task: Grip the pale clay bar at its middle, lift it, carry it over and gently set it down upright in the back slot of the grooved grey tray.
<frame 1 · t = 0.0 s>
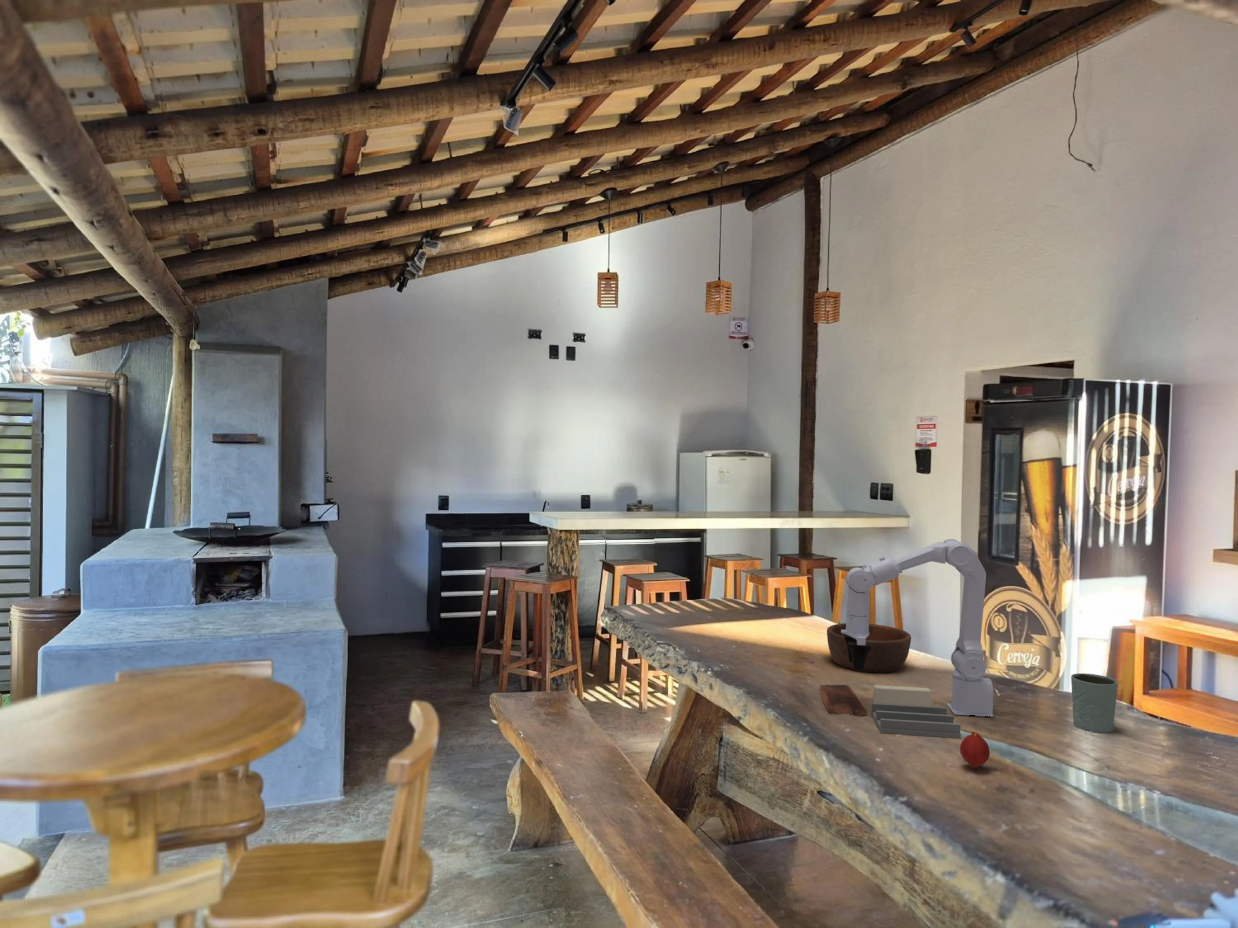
hand: (856, 666, 219), 10 cm above the table, tool pointing down, fingers open, 7 cm apart
grooved grey tray: (914, 725, 204), on the table
wooden tablet: (840, 702, 223), on the table
dark green cup: (1092, 727, 206), on the table
onion: (974, 768, 178), on the table
clay bar: (901, 706, 218), on the table
wooden bowl: (867, 665, 259), on the table
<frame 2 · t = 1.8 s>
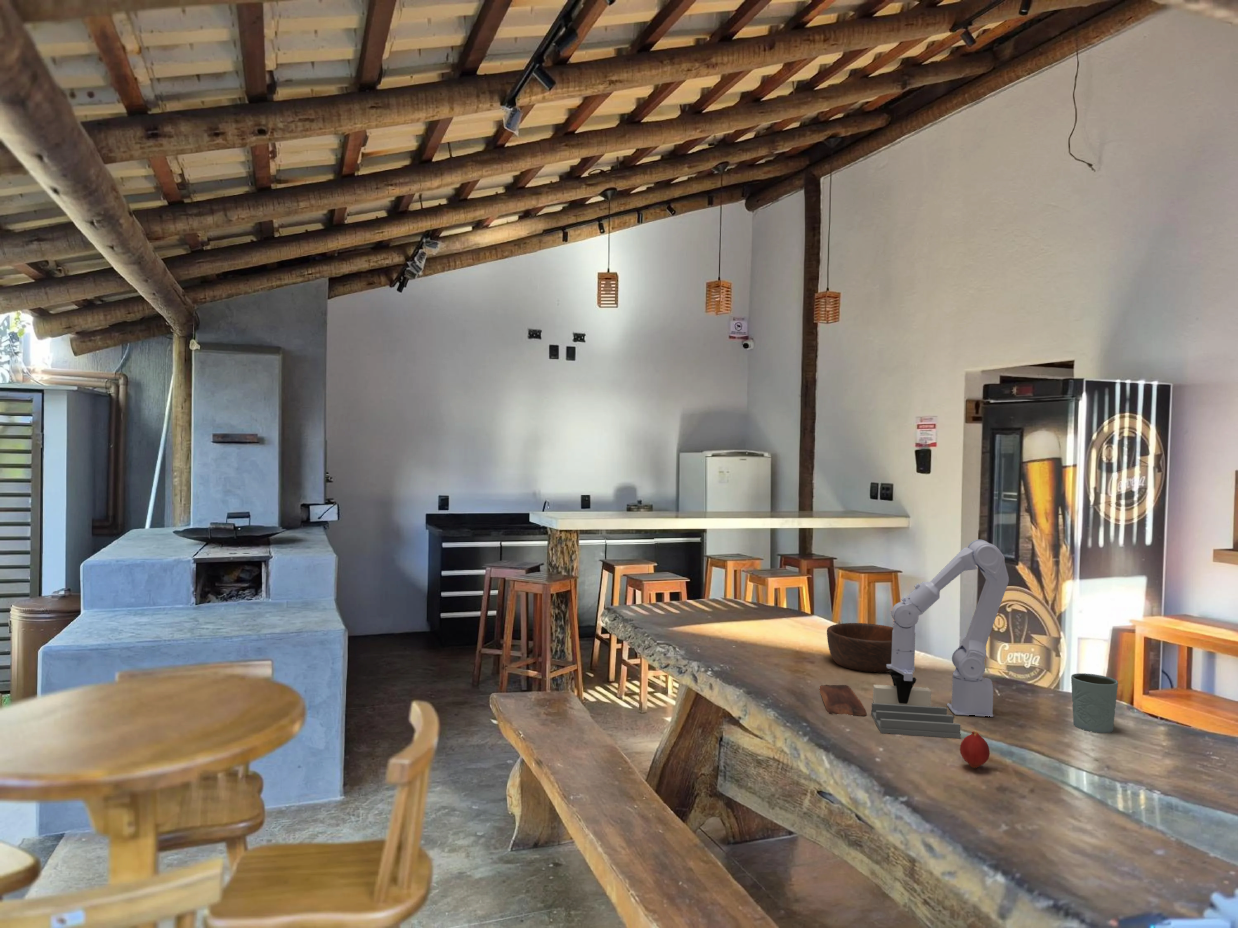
hand: (901, 700, 218), 1 cm above the table, tool pointing down, fingers closed on clay bar, 3 cm apart
clay bar: (901, 706, 218), on the table, touching gripper
everything else where it was.
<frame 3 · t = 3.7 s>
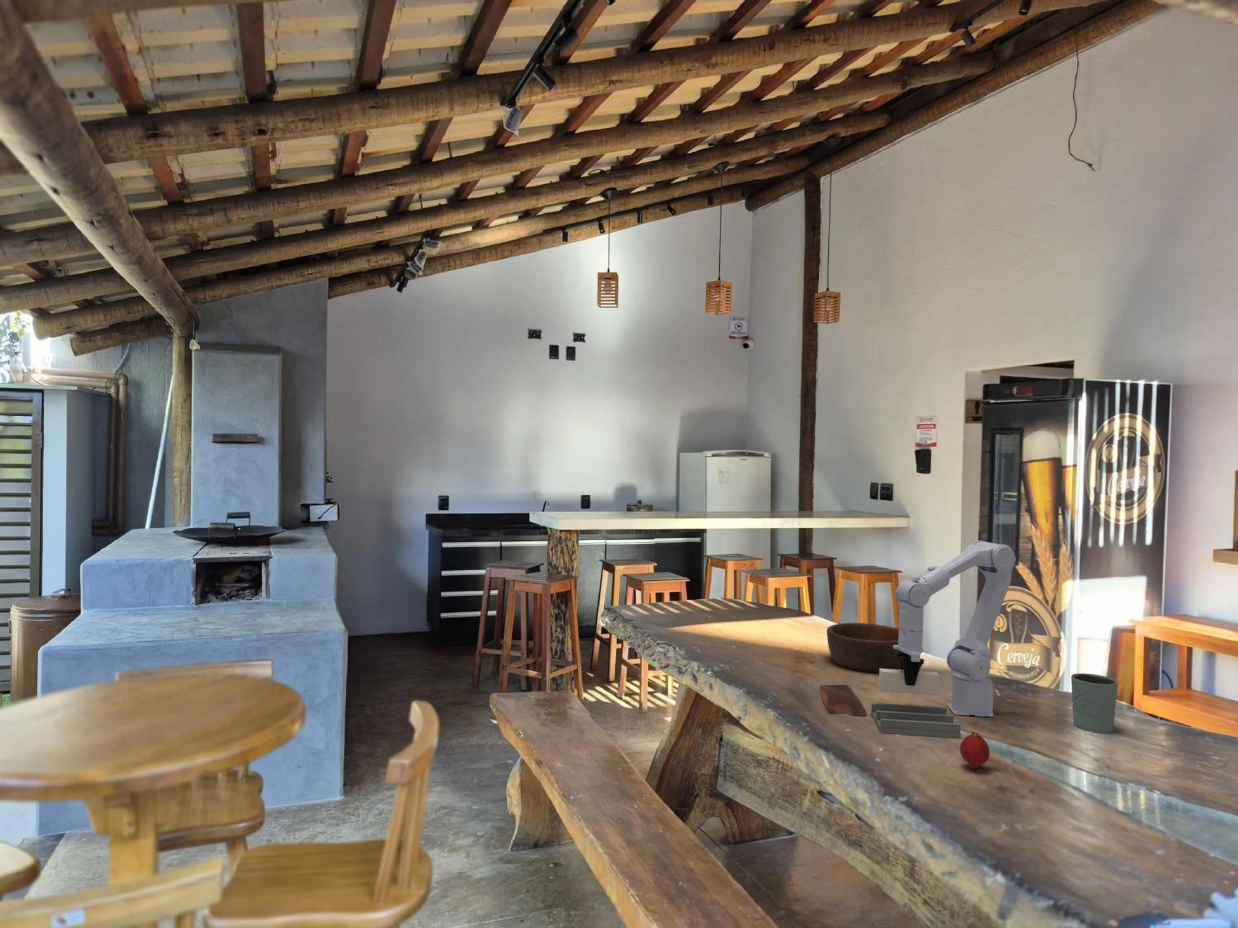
hand: (908, 683, 210), 8 cm above the table, tool pointing down, fingers closed on clay bar, 3 cm apart
clay bar: (908, 691, 210), point 6 cm above the table, touching gripper
everything else where it was.
when the fingers open (4 cm above the table, at t = 5.3 s): clay bar stays where it is, resting on grooved grey tray.
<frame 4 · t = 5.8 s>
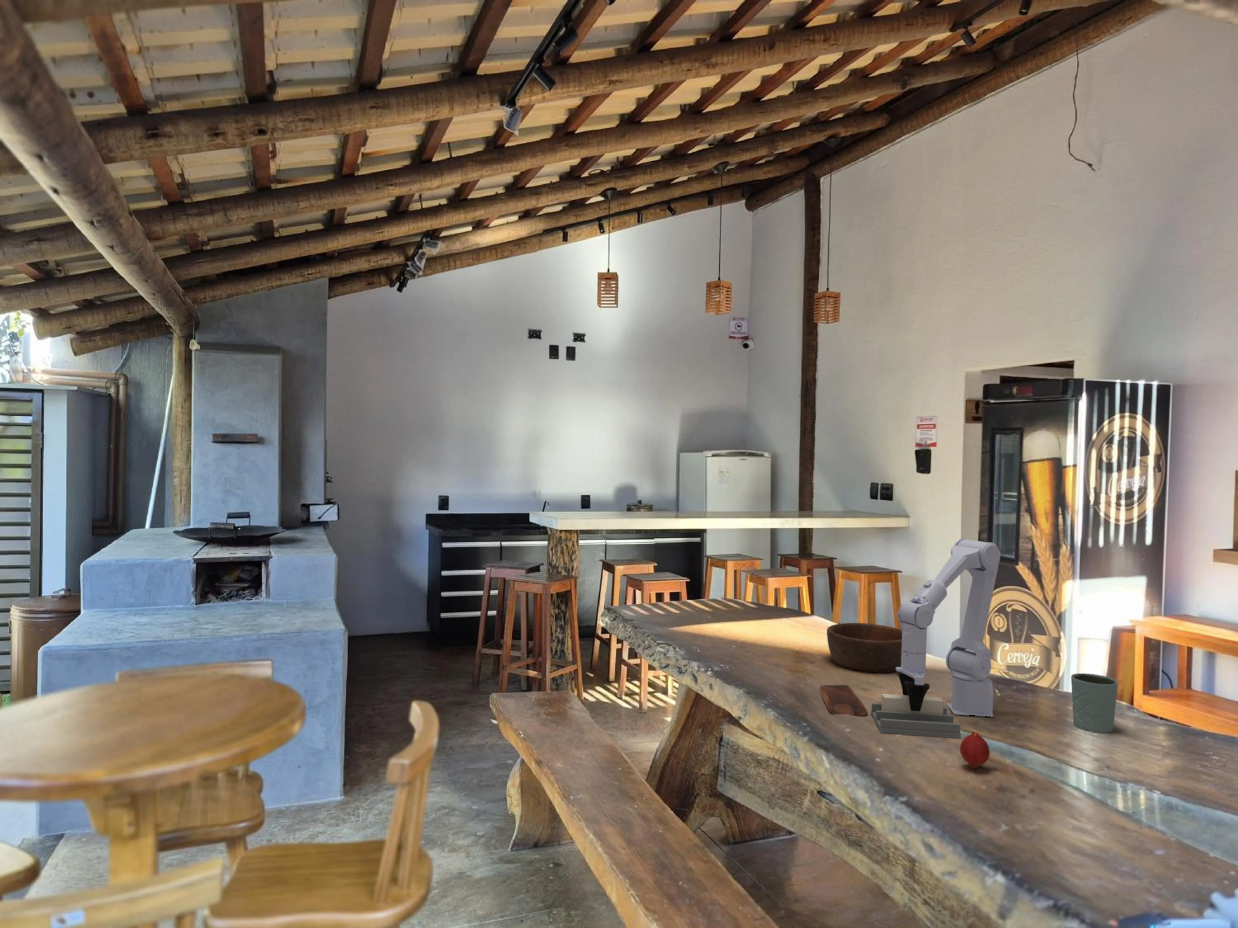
hand: (911, 705, 206), 4 cm above the table, tool pointing down, fingers open, 7 cm apart
clay bar: (911, 717, 207), point 1 cm above the table, touching grooved grey tray
everything else where it was.
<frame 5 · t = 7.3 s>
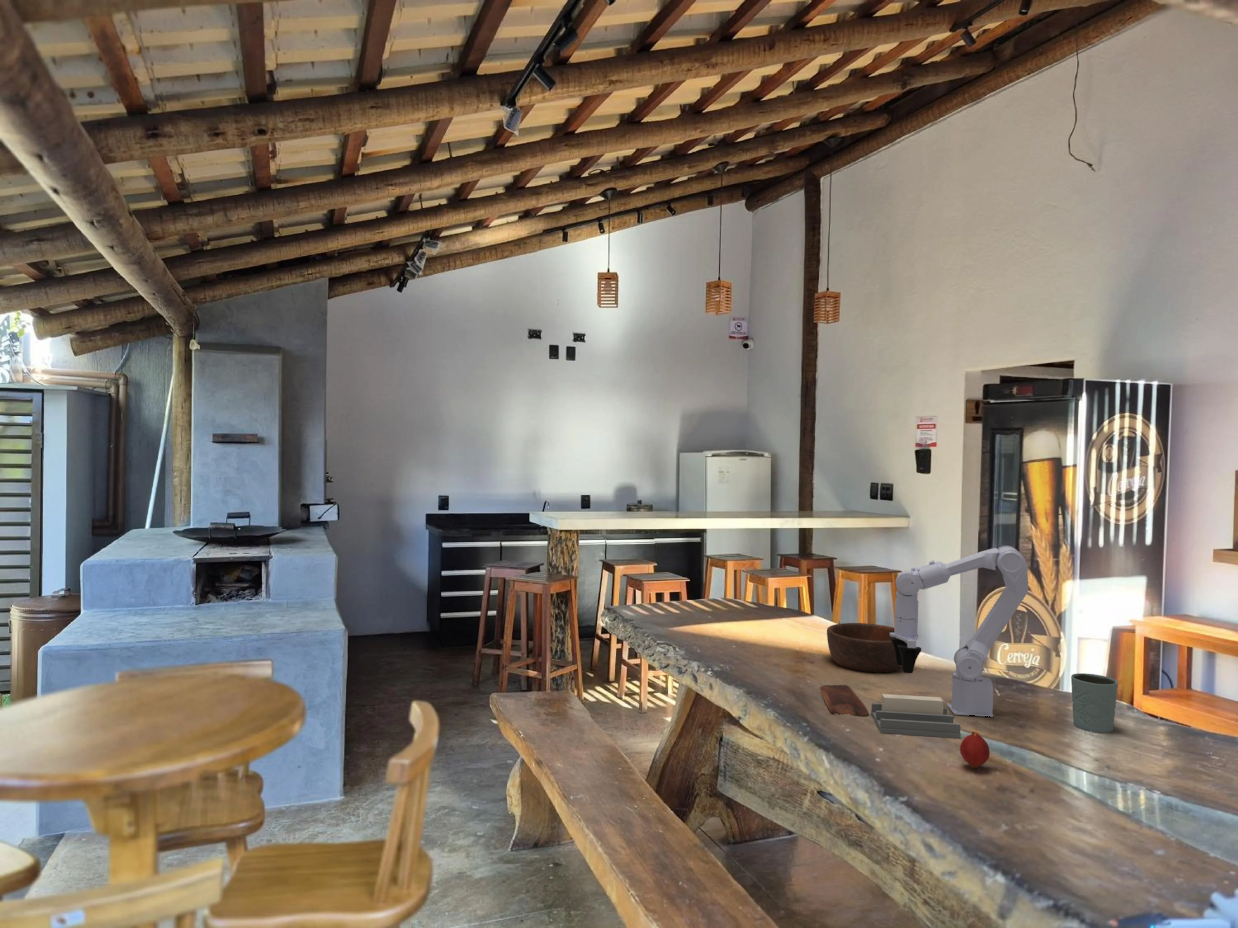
hand: (904, 668, 220), 9 cm above the table, tool pointing down, fingers open, 7 cm apart
nothing on the table moved.
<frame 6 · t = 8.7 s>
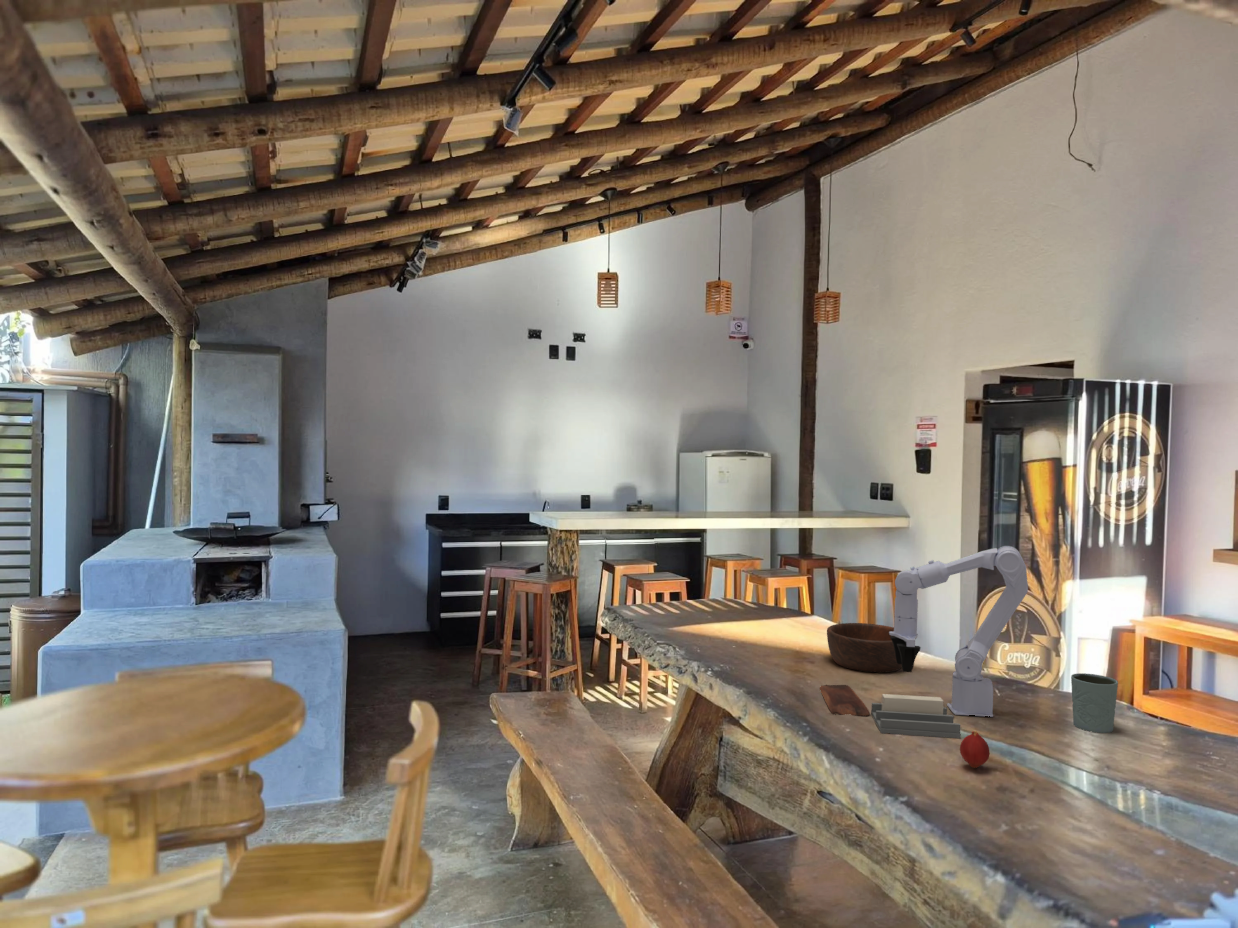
hand: (904, 667, 221), 9 cm above the table, tool pointing down, fingers open, 7 cm apart
nothing on the table moved.
at the end: clay bar 0.1 cm from the target spot, point 1.0 cm above the table; clay bar tilted 0°; the gripper is holding nothing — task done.
